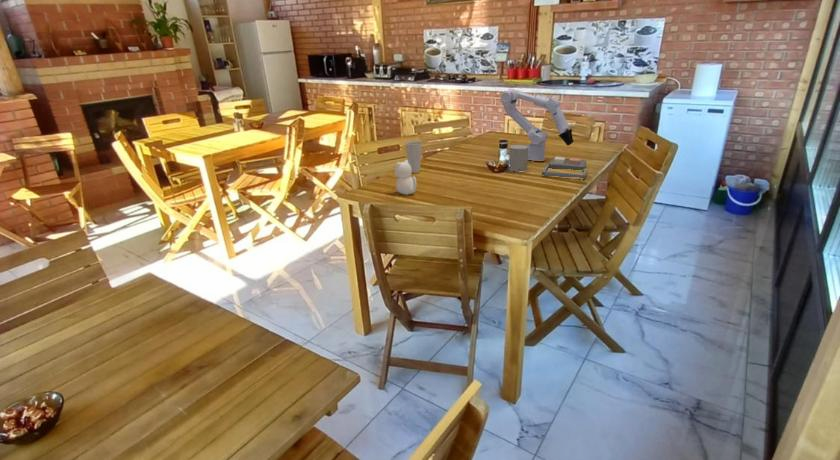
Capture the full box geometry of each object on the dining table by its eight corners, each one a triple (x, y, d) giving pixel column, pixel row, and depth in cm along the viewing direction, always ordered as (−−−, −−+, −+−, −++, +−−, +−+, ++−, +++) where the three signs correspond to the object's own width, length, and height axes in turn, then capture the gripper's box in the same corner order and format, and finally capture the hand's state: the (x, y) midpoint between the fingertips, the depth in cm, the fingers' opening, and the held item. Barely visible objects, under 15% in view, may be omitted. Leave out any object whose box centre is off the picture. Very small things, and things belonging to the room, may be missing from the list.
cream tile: (553, 162, 236) (554, 159, 235) (555, 160, 240) (555, 156, 239) (563, 163, 234) (564, 159, 233) (565, 161, 238) (565, 157, 237)
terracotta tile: (568, 163, 233) (569, 160, 232) (570, 161, 237) (570, 157, 236) (578, 164, 231) (579, 160, 230) (580, 162, 235) (580, 158, 234)
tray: (541, 176, 225) (542, 171, 224) (546, 169, 235) (546, 164, 234) (583, 180, 217) (584, 175, 216) (586, 173, 228) (587, 168, 227)
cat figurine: (404, 188, 215) (402, 157, 209) (423, 193, 207) (422, 161, 201) (391, 193, 209) (388, 161, 203) (410, 198, 201) (408, 165, 195)
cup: (420, 174, 235) (419, 144, 229) (404, 173, 237) (403, 144, 230) (423, 169, 242) (423, 141, 236) (408, 169, 244) (407, 140, 238)
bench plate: (548, 169, 235) (548, 164, 234) (552, 162, 247) (553, 157, 245) (582, 172, 228) (583, 166, 227) (585, 165, 240) (586, 160, 239)
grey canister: (506, 171, 235) (507, 148, 230) (511, 166, 243) (512, 144, 238) (524, 173, 231) (525, 149, 226) (529, 168, 238) (530, 145, 233)
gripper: (565, 118, 229) (575, 142, 230) (569, 116, 242) (579, 139, 243) (552, 124, 233) (562, 148, 234) (556, 122, 245) (567, 144, 246)
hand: (570, 144), depth 239 cm, fingers open, 7 cm apart
